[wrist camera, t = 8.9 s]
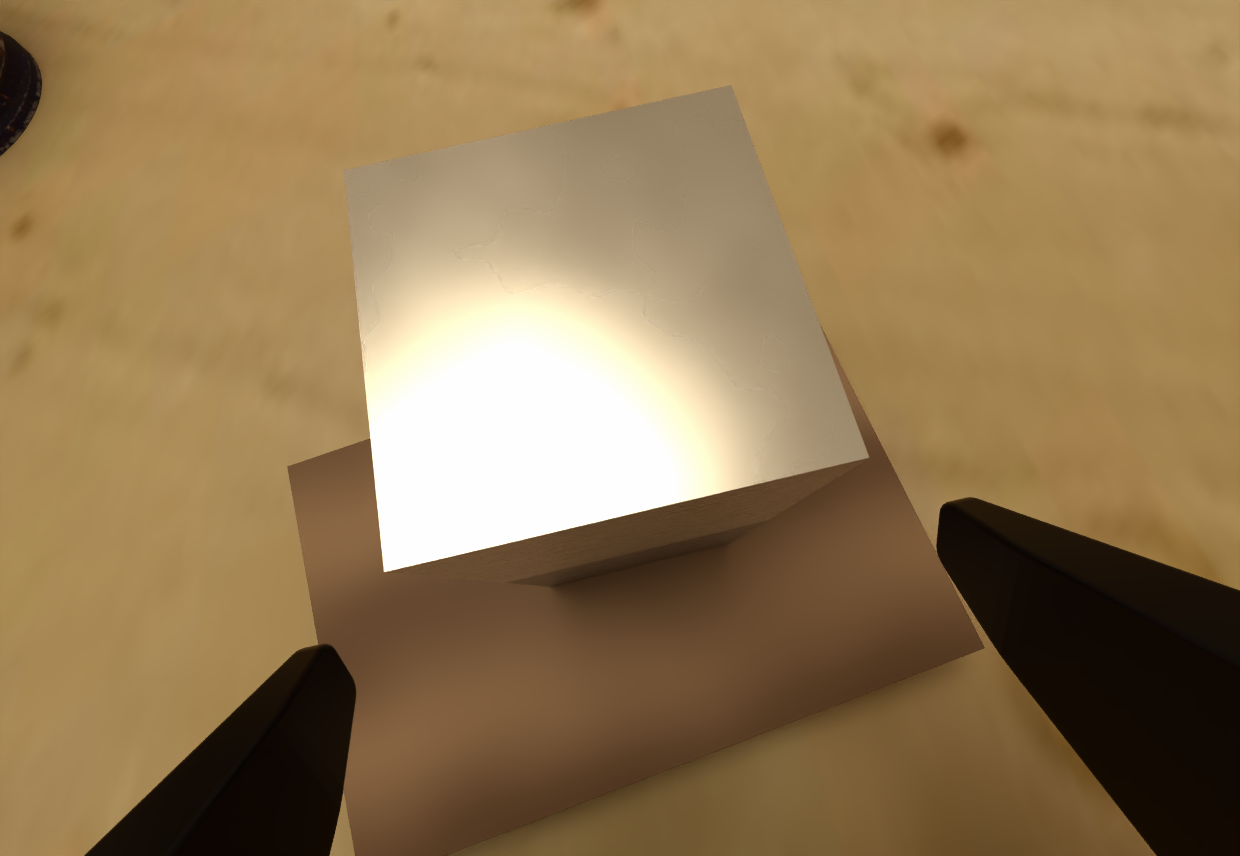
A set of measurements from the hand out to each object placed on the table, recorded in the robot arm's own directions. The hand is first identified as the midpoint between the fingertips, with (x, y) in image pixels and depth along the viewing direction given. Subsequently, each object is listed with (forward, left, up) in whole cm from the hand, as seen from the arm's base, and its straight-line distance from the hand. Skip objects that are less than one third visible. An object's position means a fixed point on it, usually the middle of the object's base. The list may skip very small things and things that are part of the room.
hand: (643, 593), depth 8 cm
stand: (+2, +1, -12) cm, 12 cm away
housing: (+4, 0, -9) cm, 9 cm away
